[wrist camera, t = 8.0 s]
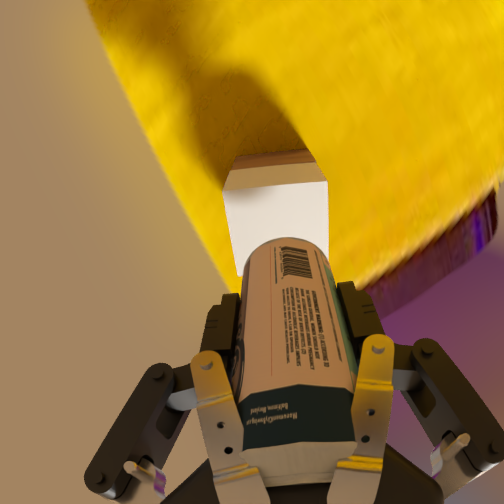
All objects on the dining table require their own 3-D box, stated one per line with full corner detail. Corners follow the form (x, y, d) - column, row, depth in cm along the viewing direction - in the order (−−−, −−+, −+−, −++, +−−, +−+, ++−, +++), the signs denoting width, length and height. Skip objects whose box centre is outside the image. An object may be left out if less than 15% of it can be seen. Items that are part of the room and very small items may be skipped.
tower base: (236, 156, 28) (230, 170, 24) (307, 148, 27) (315, 160, 23) (247, 220, 32) (244, 243, 27) (312, 213, 31) (320, 235, 27)
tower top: (230, 170, 24) (222, 191, 19) (315, 162, 23) (327, 181, 19) (242, 243, 27) (237, 276, 23) (318, 237, 27) (328, 268, 22)
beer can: (226, 265, 17) (187, 488, 7) (293, 214, 15) (329, 467, 5) (280, 313, 18) (284, 508, 8) (343, 272, 17) (399, 481, 6)
